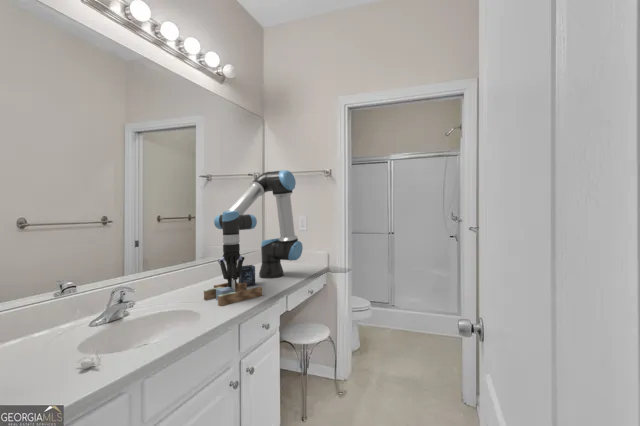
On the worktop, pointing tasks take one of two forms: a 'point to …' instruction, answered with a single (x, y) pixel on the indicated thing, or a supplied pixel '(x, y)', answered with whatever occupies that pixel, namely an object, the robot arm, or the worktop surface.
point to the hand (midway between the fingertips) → (232, 293)
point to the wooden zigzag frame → (233, 293)
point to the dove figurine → (90, 360)
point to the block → (223, 291)
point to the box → (247, 275)
